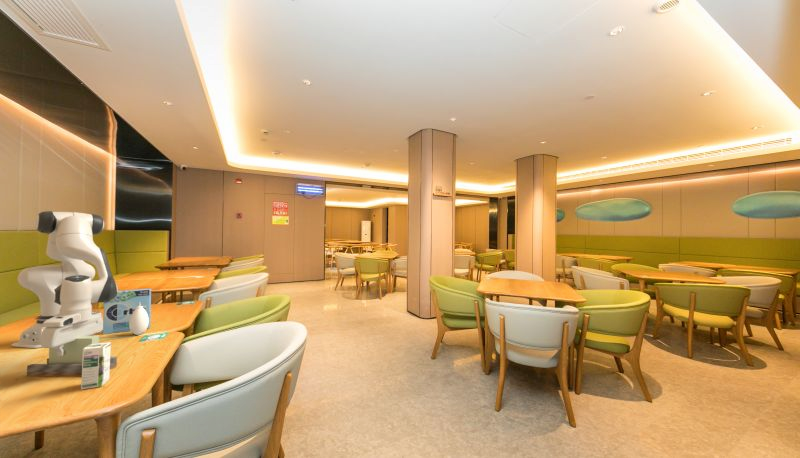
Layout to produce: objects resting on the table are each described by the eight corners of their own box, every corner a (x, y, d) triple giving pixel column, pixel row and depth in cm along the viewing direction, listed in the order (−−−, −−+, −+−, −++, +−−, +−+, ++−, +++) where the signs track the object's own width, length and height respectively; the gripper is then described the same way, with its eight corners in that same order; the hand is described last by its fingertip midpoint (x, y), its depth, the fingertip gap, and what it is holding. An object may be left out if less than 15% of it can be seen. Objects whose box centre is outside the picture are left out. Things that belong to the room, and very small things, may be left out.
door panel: (48, 369, 114) (49, 338, 115) (56, 365, 117) (58, 336, 118) (90, 368, 115) (91, 338, 115) (98, 365, 118) (99, 335, 118)
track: (26, 376, 111) (27, 365, 112) (50, 366, 119) (51, 357, 119) (97, 375, 113) (97, 365, 113) (116, 366, 121) (116, 356, 121)
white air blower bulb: (139, 331, 163) (141, 299, 163) (151, 332, 162) (153, 300, 162) (124, 336, 155) (126, 302, 156) (137, 337, 154) (138, 303, 154)
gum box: (150, 326, 172) (151, 288, 173) (148, 328, 168) (150, 289, 169) (104, 332, 162) (106, 291, 162) (102, 334, 157) (103, 292, 158)
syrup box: (80, 390, 102) (81, 349, 103) (89, 382, 108) (91, 343, 108) (101, 387, 104) (103, 346, 105) (110, 379, 110) (111, 341, 110)
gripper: (93, 309, 127) (92, 341, 126) (37, 323, 106) (35, 361, 106) (108, 309, 127) (107, 341, 127) (55, 323, 107) (53, 361, 106)
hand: (74, 350), depth 116 cm, fingers open, 8 cm apart
